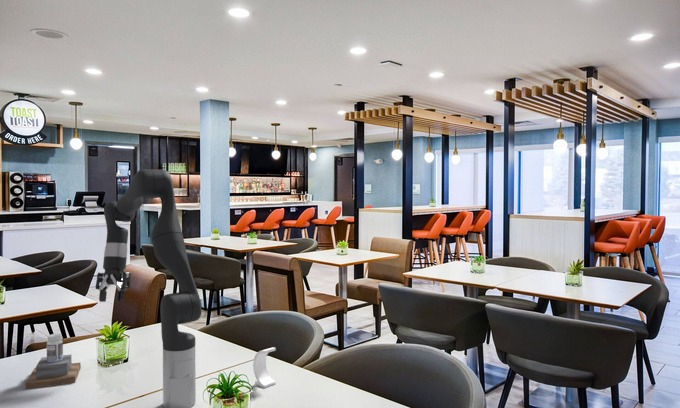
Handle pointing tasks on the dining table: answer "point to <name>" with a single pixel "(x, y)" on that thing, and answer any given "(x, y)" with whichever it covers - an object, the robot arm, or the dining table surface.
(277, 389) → the dining table surface
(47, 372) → the pedestal
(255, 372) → the headphone stand
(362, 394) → the dining table surface
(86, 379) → the dining table surface
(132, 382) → the dining table surface
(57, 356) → the pill bottle
